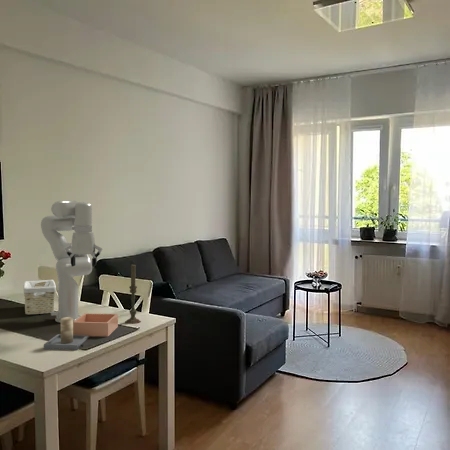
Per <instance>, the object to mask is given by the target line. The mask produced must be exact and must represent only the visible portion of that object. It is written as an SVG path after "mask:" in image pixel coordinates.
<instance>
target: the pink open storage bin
mask: <svg viewBox="0 0 450 450" xmlns="http://www.w3.org/2000/svg"><path fill="white" fill-rule="evenodd" d="M117 328H119V314H118V313H87V312H86V313H83V314H82V315H80V317H79V318H78V319H76V320H75V321H73V335H89V337H109V336H110V335H111V334H112V333H113V332H114V331H115V330H116V329H117Z"/></svg>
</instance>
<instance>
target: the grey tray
mask: <svg viewBox="0 0 450 450" xmlns="http://www.w3.org/2000/svg"><path fill="white" fill-rule="evenodd" d="M89 338H90V336H89V335H73V342H72V343H68V344H63V343H61V333H59V334H56V335H54V336H53V337H52V338H50V339H49V340H48V341H46V342H45V343H44V344H43V349H44V350H63V351H64V350H67V351H70V350H71V351H79V349H81V348H82V347H83V343H85V342H86V340H88V339H89Z"/></svg>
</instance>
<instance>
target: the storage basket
mask: <svg viewBox="0 0 450 450" xmlns="http://www.w3.org/2000/svg"><path fill="white" fill-rule="evenodd" d="M38 286H39V287H38ZM56 289H57V286H56V283H55V280H54V279H43V280H26V281H24V282H23V296H24V312H25V313H24V314H25V315H39V314H40V315H44V314H51V311H55V298H56V293H57V292H56V291H57V290H56Z"/></svg>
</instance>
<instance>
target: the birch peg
mask: <svg viewBox="0 0 450 450" xmlns="http://www.w3.org/2000/svg"><path fill="white" fill-rule="evenodd" d="M73 322H74V321H73V318H72V317H64V318H61V323H60V334H61V343H63V344H68V343H72V342H73Z"/></svg>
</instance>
